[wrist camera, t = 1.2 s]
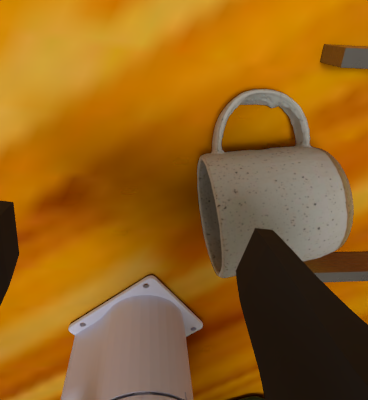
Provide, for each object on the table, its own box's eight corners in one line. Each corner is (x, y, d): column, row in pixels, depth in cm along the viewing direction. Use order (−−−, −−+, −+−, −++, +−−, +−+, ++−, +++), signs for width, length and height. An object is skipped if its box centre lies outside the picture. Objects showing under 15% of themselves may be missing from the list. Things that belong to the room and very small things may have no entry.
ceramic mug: (302, 217, 26) (356, 284, 19) (200, 232, 26) (219, 305, 19) (312, 78, 21) (390, 103, 14) (187, 94, 21) (206, 127, 14)
